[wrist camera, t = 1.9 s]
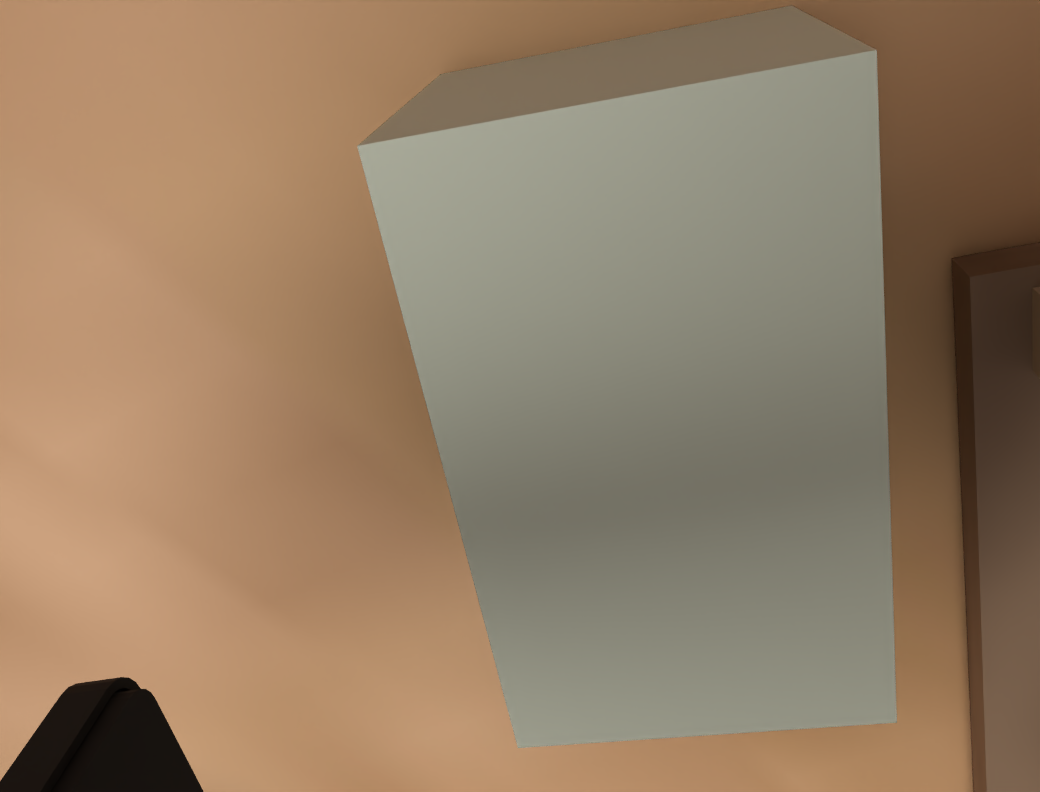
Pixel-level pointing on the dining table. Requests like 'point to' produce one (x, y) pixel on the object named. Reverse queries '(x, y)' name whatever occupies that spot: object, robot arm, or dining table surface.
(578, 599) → the grey green block
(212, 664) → the dining table surface
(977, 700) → the peg stand
